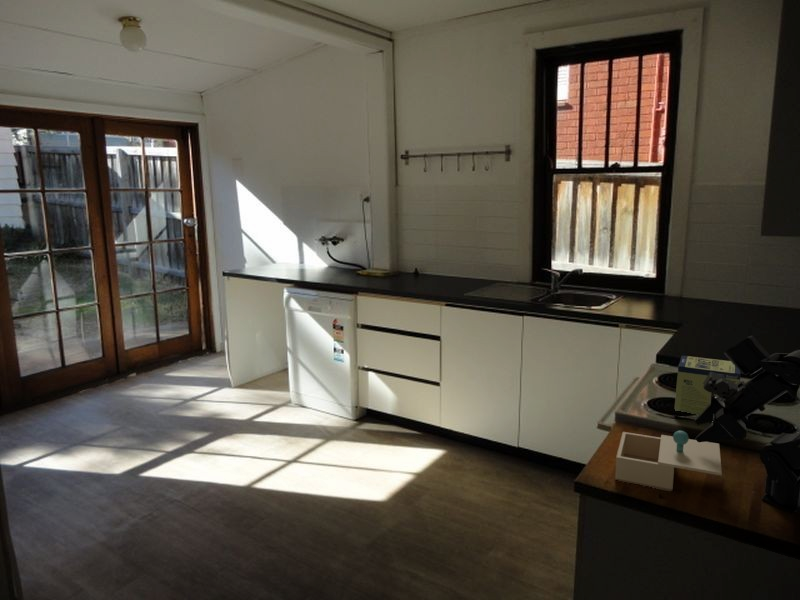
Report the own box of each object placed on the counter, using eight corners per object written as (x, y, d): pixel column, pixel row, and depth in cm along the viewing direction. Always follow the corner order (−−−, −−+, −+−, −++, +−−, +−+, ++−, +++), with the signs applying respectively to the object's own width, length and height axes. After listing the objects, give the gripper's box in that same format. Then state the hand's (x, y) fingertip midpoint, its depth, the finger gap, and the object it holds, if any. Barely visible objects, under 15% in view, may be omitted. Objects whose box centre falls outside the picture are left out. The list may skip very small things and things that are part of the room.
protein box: (736, 427, 159) (741, 373, 155) (673, 417, 166) (677, 365, 163) (735, 413, 168) (741, 361, 164) (676, 404, 175) (680, 354, 172)
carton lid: (718, 446, 137) (721, 424, 135) (721, 475, 124) (723, 451, 123) (661, 437, 142) (662, 416, 141) (657, 464, 129) (659, 441, 128)
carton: (674, 462, 142) (675, 440, 140) (672, 491, 130) (674, 467, 128) (621, 453, 147) (622, 431, 146) (615, 480, 135) (616, 457, 133)
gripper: (727, 350, 133) (670, 389, 140) (733, 378, 117) (669, 420, 124) (763, 387, 132) (705, 425, 139) (775, 420, 115) (707, 461, 122)
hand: (696, 431), depth 131 cm, fingers open, 9 cm apart
